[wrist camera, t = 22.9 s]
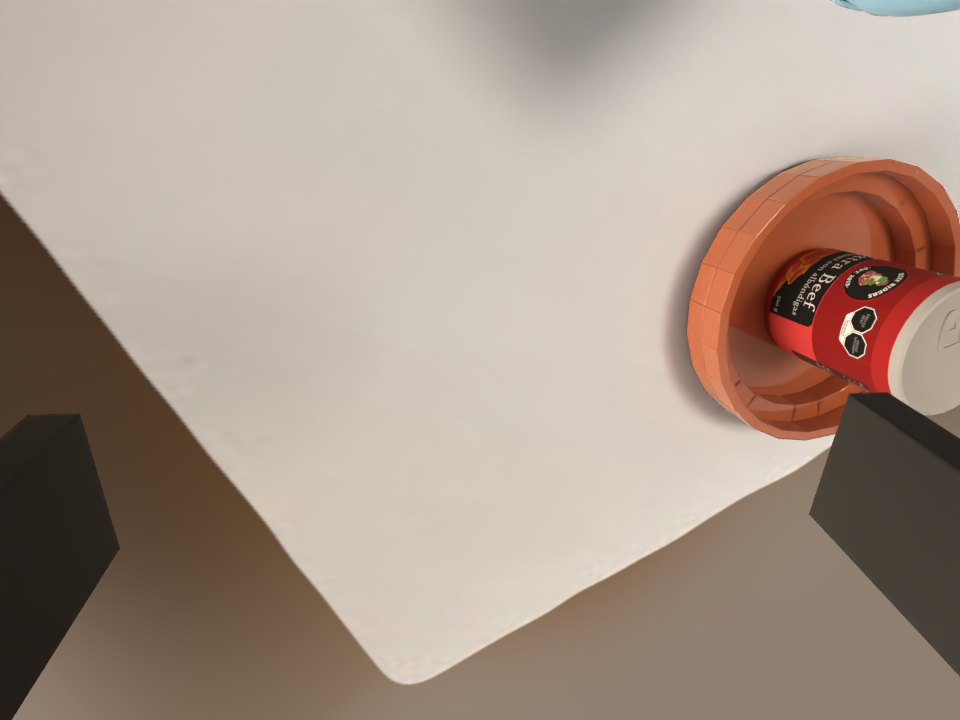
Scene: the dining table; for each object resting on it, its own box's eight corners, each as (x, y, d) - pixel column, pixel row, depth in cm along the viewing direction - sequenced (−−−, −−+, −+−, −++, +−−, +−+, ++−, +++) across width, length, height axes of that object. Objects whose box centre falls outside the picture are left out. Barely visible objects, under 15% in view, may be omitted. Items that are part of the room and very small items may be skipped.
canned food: (834, 223, 41) (1001, 255, 31) (860, 312, 44) (1018, 365, 35) (745, 287, 41) (884, 338, 31) (778, 370, 44) (912, 440, 34)
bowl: (784, 102, 37) (835, 100, 34) (954, 229, 45) (1010, 238, 41) (634, 368, 42) (665, 391, 38) (811, 444, 49) (851, 469, 45)
